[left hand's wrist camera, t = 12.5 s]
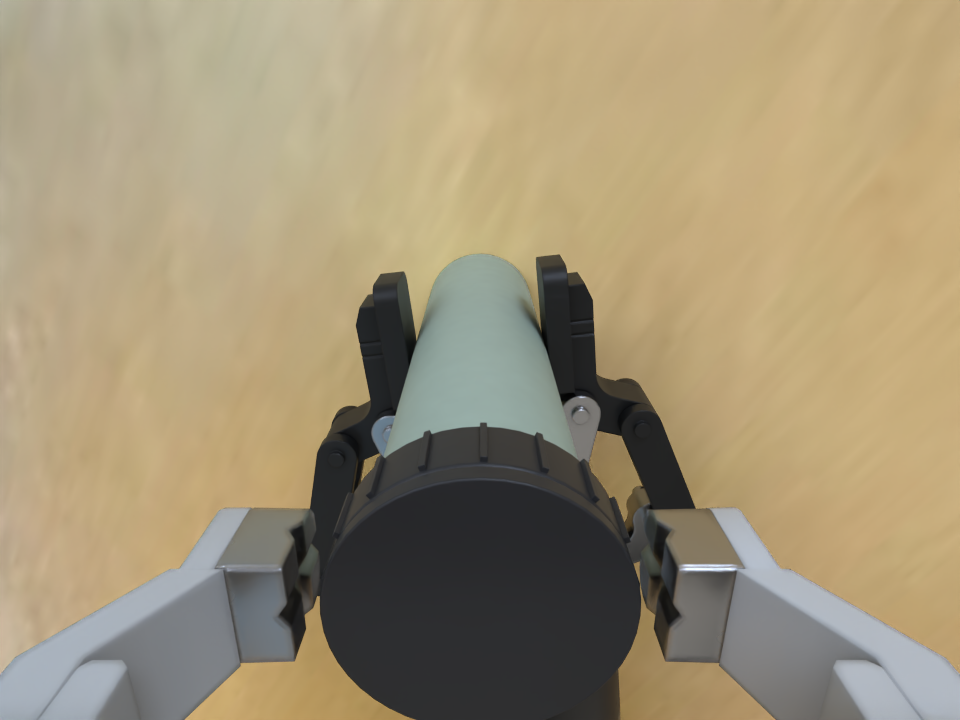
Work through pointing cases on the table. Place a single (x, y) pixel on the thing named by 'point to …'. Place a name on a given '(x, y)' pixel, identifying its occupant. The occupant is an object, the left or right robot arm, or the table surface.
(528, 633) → the lid
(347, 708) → the table surface
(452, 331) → the jar
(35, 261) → the table surface
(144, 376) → the table surface
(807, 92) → the table surface
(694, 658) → the left robot arm
